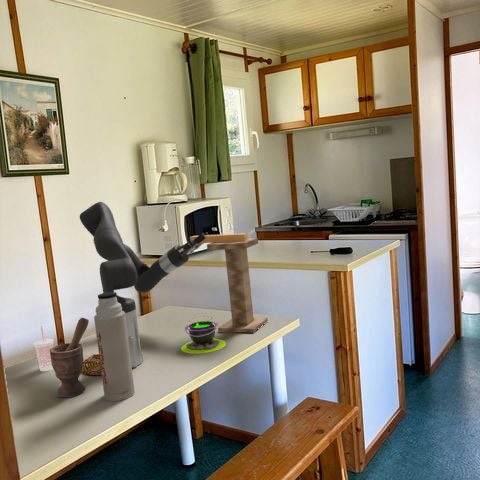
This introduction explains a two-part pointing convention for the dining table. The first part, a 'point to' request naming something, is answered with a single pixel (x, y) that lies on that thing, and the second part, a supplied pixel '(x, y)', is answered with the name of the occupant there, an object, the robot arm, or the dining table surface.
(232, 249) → the shelf stand
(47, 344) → the beverage cup
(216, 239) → the handle bar
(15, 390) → the dining table surface
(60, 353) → the mortar and pestle
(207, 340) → the toy cauldron
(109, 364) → the thermos bottle
